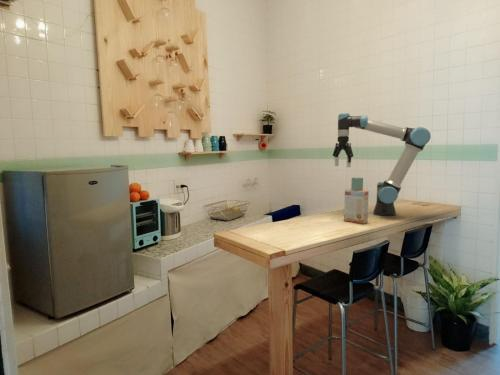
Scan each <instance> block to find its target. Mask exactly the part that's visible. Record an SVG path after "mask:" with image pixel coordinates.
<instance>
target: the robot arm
mask: <svg viewBox="0 0 500 375" xmlns="http://www.w3.org/2000/svg"><path fill="white" fill-rule="evenodd" d="M350 128H355V129H359V130H364V131H368V132H373V133H376V134H380V135H384V136H387V137H391V138H396V139H399V140H400V141H402V142H404V146H405V147H404V149H403V151H402V153H401V154H400V156H399V158H398V160H397V162H396V164H395V165H394V167H393V169H392V171H391V173H390V175H389V177H388V179H385V180H384V181H381V182H380V181H379V182H377V184H376V201H375V202H376V203H375V206H374V209H373V212H372V213H373V214H374V215H377V216H387V217H392V216H396V215H397V211H396V208H395V201H397V199H398V197H399V194H400V192H401V189H402V186H401V184H402V183H403V180H405V177H406V175H407V174H408V171H409V170H410V169H411V166H412V165H413V163H414V161H415V159H416V157H417V156H418V153H420V152H423V150H424V148H425V146H426V145H427V144H428V143H429V142H430V140H431V132H430V131H429V129H428V128H426V127H422V126H417V127H414V128H413V127H407V126H406V127H401V126H396V125H393V124H389V123H384V122H381V121H380V122H379V121H376V120H375V121H374V120H371V119H369V117H368V115H353V116H352V115H350V113H349V112H342V113H339V114H338V116H337V142H338V143H337V142H336V143H335V146H334V150H333V152H332V157H334V167H339V158H340V157H339V155H340V153H341V151H344V152H345V154H346V156H347V157H346V168H351V166H352V164H351V162H352V158H353V157H354V152H353V150H352V145H351V144H352V143H351V142H349V141H350V137H349V135H350Z"/></svg>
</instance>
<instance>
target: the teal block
mask: <svg viewBox="0 0 500 375" xmlns="http://www.w3.org/2000/svg"><path fill="white" fill-rule="evenodd" d="M350 189H351V190H354V191H364V178H363V177H351V188H350Z"/></svg>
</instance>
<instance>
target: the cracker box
mask: <svg viewBox="0 0 500 375" xmlns="http://www.w3.org/2000/svg"><path fill="white" fill-rule="evenodd" d="M369 193H370V192H369V190H363V191H354V190H351V188H350V189H349V188H348V189H345V190H344V212H343V219H344V220H343V221H344V222H348V223H353V224H354V223H355V224H360V225H364V224H368V221H369V220H368V218H369V216H368V215H369Z"/></svg>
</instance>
